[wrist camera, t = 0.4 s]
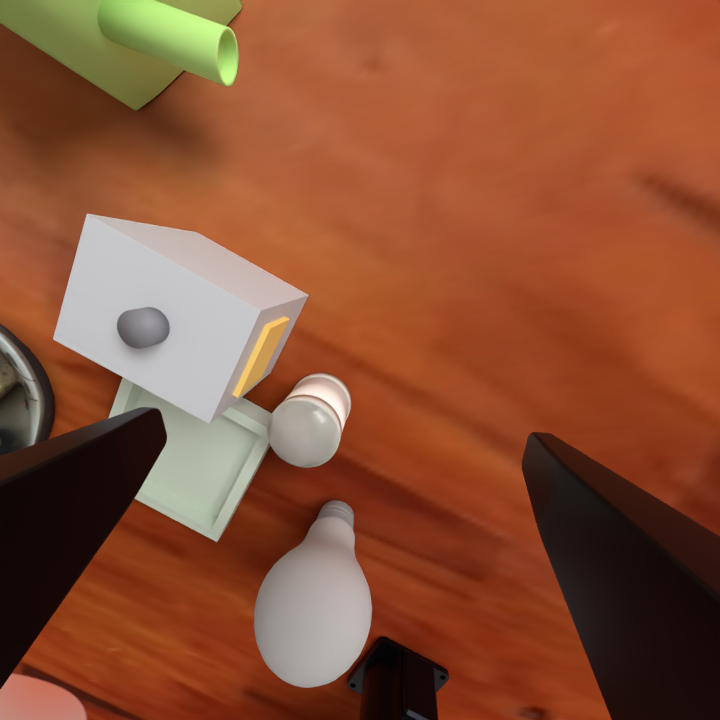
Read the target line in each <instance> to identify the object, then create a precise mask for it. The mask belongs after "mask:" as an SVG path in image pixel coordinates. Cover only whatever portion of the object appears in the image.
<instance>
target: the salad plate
mask: <svg viewBox="0 0 720 720" xmlns="http://www.w3.org/2000/svg"><path fill="white" fill-rule="evenodd" d="M24 402H25V404H24ZM25 405H26V406H25ZM53 421H54V396H53V391H52V387H51V384H50V381H49V378H48V376H47V374H46V372H45V370H44V368H43V367H42V365H41V364H40V362H39V360H38V359H37V358H36V357H35V355H34V354H33V353H32V352H31V351H30V350H29V349H28V348H27V347H26V346H25V345H24V344H23V343H22V342H21V341H20V340H18V339H17V338H16V337H15V336H14V335H13V334H12V333H11V332H10V331H9V330H8V329H7V328H5V327H4V326H2V325H1V324H0V456H3V455H5V454H8V453H11V452H14V451H17V450H20V449H23V448H25V447H28V446H31V445H34V444H37V443H40V442H43V441H45V440H48V437H49V435H50V432H51V429H52V426H53Z"/></svg>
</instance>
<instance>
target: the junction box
mask: <svg viewBox="0 0 720 720" xmlns="http://www.w3.org/2000/svg"><path fill="white" fill-rule="evenodd" d="M308 296H309V295H308V294H306V293H304V292H302V291H301V290H299V289H297V288H295V287H293V286H292V285H290V284H288V283H286V282H284V281H283V280H281V279H279V278H277V277H276V276H274V275H272V274H270V273H268V272H267V271H265V270H263V269H261V268H260V267H258V266H256V265H254V264H252V263H251V262H249V261H247V260H245V259H244V258H242V257H240V256H238V255H236V254H235V253H233V252H231V251H229V250H228V249H226V248H224V247H222V246H220V245H219V244H217V243H215V242H213V241H212V240H210V239H208V238H206V237H204V236H203V235H201V234H199V233H197V232H192V231H186V230H180V229H174V228H169V227H163V226H157V225H151V224H145V223H139V222H133V221H128V220H122V219H116V218H110V217H104V216H98V215H92V214H87V215H86V219H85V223H84V226H83V230H82V234H81V238H80V241H79V245H78V249H77V252H76V256H75V260H74V263H73V267H72V271H71V275H70V278H69V282H68V286H67V289H66V293H65V297H64V301H63V304H62V308H61V312H60V315H59V319H58V323H57V326H56V330H55V334H54V338H53V340H55V341H57V342H59V343H61V344H63V345H64V346H66V347H68V348H70V349H72V350H74V351H76V352H77V353H79V354H81V355H83V356H85V357H87V358H89V359H90V360H92V361H94V362H96V363H98V364H100V365H101V366H103V367H105V368H107V369H109V370H111V371H113V372H114V373H116V374H118V375H120V376H122V377H124V378H126V379H127V380H129V381H131V382H133V383H135V384H137V385H138V386H140V387H142V388H144V389H146V390H148V391H150V392H151V393H153V394H155V395H157V396H159V397H161V398H163V399H164V400H166V401H168V402H170V403H172V404H174V405H175V406H177V407H179V408H181V409H183V410H185V411H187V412H188V413H190V414H192V415H194V416H196V417H198V418H200V419H201V420H203V421H205V422H207V423H209V424H210V423H211V422H212V421H214V420H215V419H216V418H217V417H218V416H220V415H221V414H222V413H223V412H224V411H226V410H227V409H228V408H229V407H230V406H232V405H233V404H234V403H235V402H236V401H238V400H239V399H240V398H241V397H242V396H244V395H245V394H246V393H247V392H248V391H250V390H251V389H252V388H253V387H254V386H256V385H257V384H258V383H259V382H260V381H262V380H263V379H264V378H265V377H266V376H267V375H269V374H270V373H271V371H272V369H273V367H274V365H275V363H276V361H277V359H278V357H279V355H280V353H281V351H282V349H283V347H284V345H285V343H286V341H287V339H288V337H289V335H290V333H291V330H292V328H293V326H294V324H295V322H296V320H297V318H298V316H299V314H300V312H301V310H302V308H303V306H304V304H305V302H306V300H307V298H308Z"/></svg>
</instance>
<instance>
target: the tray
mask: <svg viewBox="0 0 720 720" xmlns="http://www.w3.org/2000/svg"><path fill="white" fill-rule="evenodd" d="M140 407H152V408H158V409H159V410H160V411H161V413H162V417H163V421H164V424H165V428H166V432H167V442H166V445H165V447H164V448H163V450H162V452H161V454H160V455H159V457H158V459H157V461H156V462H155V464H154V466H153V468H152V469H151V471H150V473H149V475H148V476H147V478H146V480H145V482H144V483H143V485H142V487H141V489H140V490H139V492H138V493H137V495H136V497H135V498H134V499H136V500H138V501H140V502H142V503H144V504H146V505H147V506H149V507H151V508H153V509H155V510H157V511H159V512H161V513H163V514H165V515H166V516H168V517H170V518H172V519H174V520H176V521H178V522H180V523H182V524H184V525H185V526H187V527H189V528H191V529H193V530H195V531H197V532H199V533H201V534H202V535H204V536H206V537H208V538H210V539H212V540H214V541H216V542H218V540H219V539H220V537H221V535H222V534H223V532H224V531H225V529H226V528H227V526H228V525H229V523H230V521H231V519H232V517H233V515H234V513H235V512H236V510H237V508H238V506H239V504H240V502H241V500H242V498H243V496H244V495H245V493H246V491H247V489H248V487H249V485H250V483H251V481H252V479H253V477H254V476H255V474H256V472H257V470H258V468H259V466H260V464H261V462H262V460H263V459H264V457H265V455H266V453H267V451H268V449H269V447H270V443H269V440H268V436H267V424H268V420H269V418H270V416H271V414H272V413H270V412H268V411H267V410H265V409H263V408H261V407H259V406H257V405H256V404H254V403H252V402H250V401H248V400H246V399H245V398H243V397H241V398H240V399H239V400H238V401H236V402H235V403H234V404H233V405H232V406H230V407H229V408H228V409H227V410H226V411H224V412H223V413H222V414H221V415H220V416H218V417H217V418H216V419H215V420H214V421H212V422H211V423H210V424H209V423H207V422H205V421H203V420H201V419H200V418H198V417H196V416H194V415H192V414H190V413H188V412H187V411H185V410H183V409H181V408H179V407H177V406H175V405H174V404H172V403H170V402H168V401H166V400H164V399H163V398H161V397H159V396H157V395H155V394H153V393H151V392H150V391H148V390H146V389H144V388H142V387H140V386H138V385H137V384H135V383H133V382H131V381H129V380H127V379H126V378H124V377H123V378H122V381H121V383H120V386H119V389H118V392H117V395H116V398H115V401H114V404H113V406H112V409H111V412H110V415H109V418H111V417H114V416H117V415H119V414H122V413H125V412H128V411H131V410H134V409H137V408H140Z"/></svg>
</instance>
